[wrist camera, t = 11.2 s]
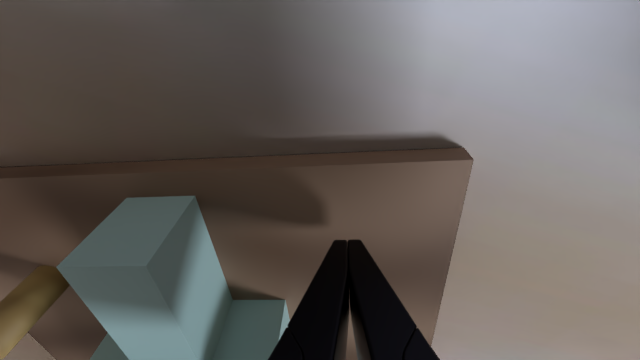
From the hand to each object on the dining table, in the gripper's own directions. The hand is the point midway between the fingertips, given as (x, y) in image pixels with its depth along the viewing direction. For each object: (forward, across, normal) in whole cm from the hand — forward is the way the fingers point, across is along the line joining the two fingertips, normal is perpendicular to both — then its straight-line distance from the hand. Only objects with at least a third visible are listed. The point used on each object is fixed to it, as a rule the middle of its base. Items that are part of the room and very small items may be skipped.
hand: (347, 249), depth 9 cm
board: (+2, +6, +8) cm, 10 cm away
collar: (+1, +6, +5) cm, 8 cm away
